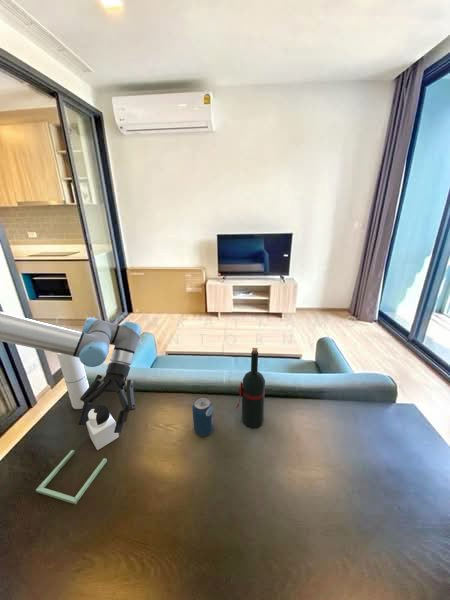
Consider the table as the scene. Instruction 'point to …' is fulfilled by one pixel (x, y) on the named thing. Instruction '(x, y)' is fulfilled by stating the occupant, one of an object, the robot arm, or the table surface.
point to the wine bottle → (252, 395)
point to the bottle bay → (63, 496)
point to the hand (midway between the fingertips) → (99, 428)
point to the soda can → (202, 416)
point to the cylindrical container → (74, 378)
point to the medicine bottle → (101, 426)
